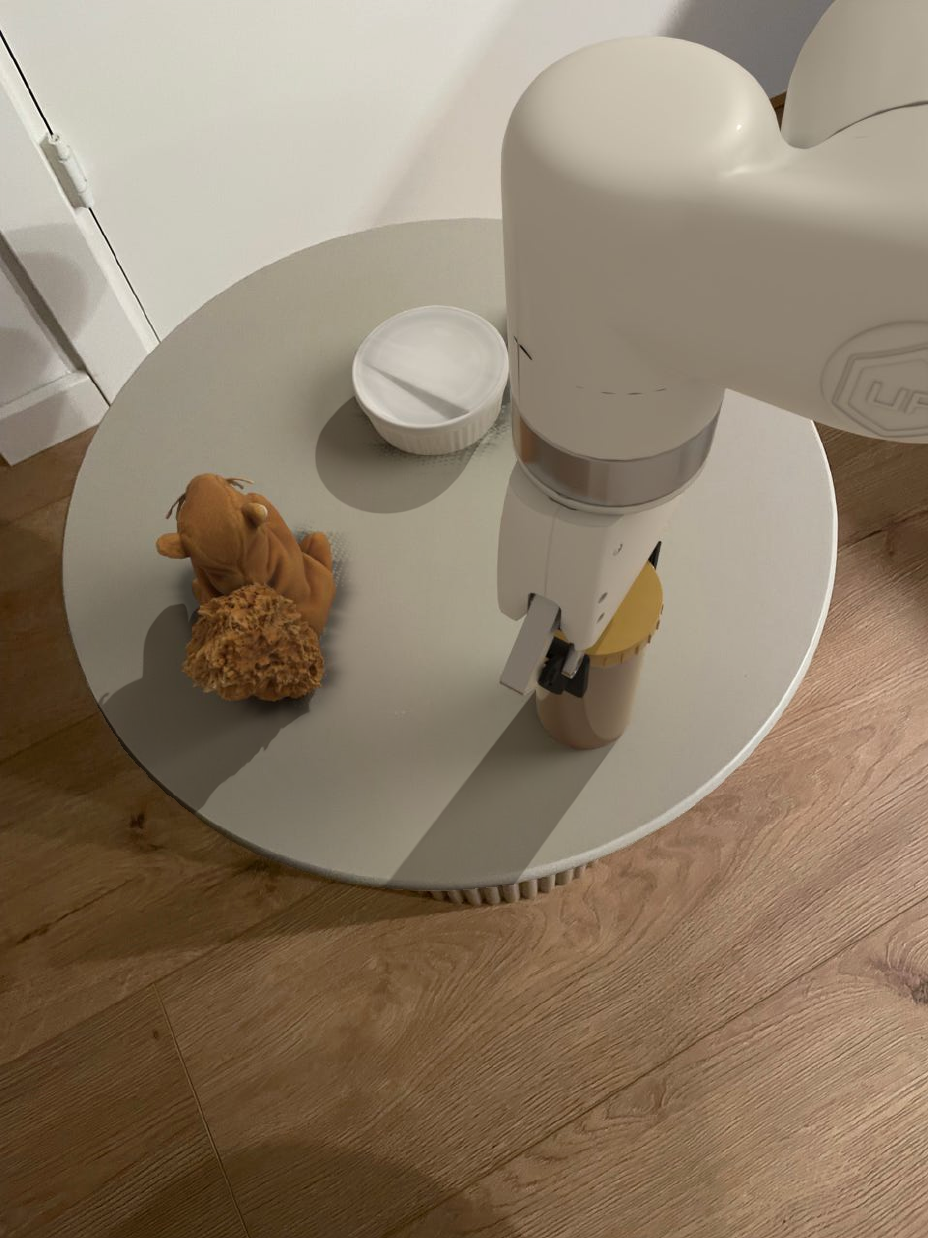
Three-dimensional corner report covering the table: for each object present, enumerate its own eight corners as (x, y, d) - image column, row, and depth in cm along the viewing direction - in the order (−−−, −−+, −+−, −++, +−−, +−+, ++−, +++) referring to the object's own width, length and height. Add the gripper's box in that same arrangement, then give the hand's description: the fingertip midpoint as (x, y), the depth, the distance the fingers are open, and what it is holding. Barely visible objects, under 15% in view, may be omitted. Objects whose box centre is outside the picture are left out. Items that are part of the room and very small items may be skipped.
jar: (598, 651, 65) (613, 527, 51) (649, 727, 62) (679, 617, 49) (518, 694, 64) (512, 579, 50) (567, 772, 61) (574, 673, 48)
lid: (614, 529, 53) (615, 514, 51) (687, 628, 50) (691, 615, 48) (502, 587, 51) (501, 573, 50) (571, 691, 49) (572, 680, 47)
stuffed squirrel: (329, 530, 71) (286, 412, 59) (368, 709, 64) (329, 617, 52) (191, 564, 70) (120, 453, 58) (216, 748, 64) (143, 664, 52)
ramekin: (356, 474, 73) (343, 429, 68) (367, 355, 78) (356, 306, 73) (510, 471, 72) (507, 426, 67) (511, 351, 77) (509, 301, 72)
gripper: (631, 222, 41) (606, 476, 56) (398, 542, 34) (443, 725, 50) (806, 286, 38) (728, 531, 54) (590, 639, 32) (574, 799, 48)
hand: (591, 623), depth 52 cm, fingers closed on lid, 6 cm apart
